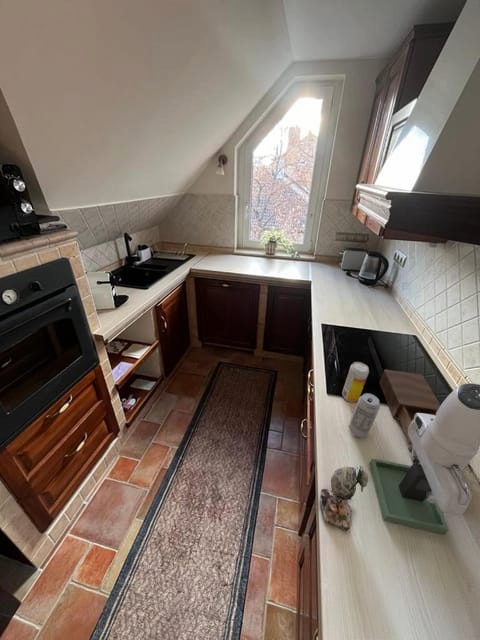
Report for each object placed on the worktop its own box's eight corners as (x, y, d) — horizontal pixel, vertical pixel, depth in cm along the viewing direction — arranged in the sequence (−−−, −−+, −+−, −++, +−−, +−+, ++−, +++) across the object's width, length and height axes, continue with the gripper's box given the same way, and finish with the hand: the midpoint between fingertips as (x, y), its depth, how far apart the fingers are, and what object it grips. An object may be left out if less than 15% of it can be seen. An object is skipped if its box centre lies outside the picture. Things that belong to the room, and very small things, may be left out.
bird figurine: (355, 492, 68) (377, 447, 58) (348, 537, 59) (373, 494, 49) (324, 476, 71) (340, 431, 61) (313, 517, 63) (330, 472, 52)
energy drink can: (371, 432, 84) (385, 400, 76) (361, 442, 80) (375, 410, 73) (354, 420, 88) (366, 388, 80) (344, 429, 84) (356, 398, 77)
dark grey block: (418, 489, 68) (435, 466, 63) (423, 502, 66) (441, 480, 60) (398, 485, 69) (413, 462, 63) (402, 498, 66) (418, 475, 61)
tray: (419, 472, 73) (422, 468, 71) (444, 534, 60) (448, 530, 59) (369, 463, 75) (371, 458, 73) (383, 520, 62) (386, 516, 61)
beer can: (362, 400, 95) (373, 370, 88) (349, 405, 93) (360, 374, 86) (350, 389, 100) (360, 359, 92) (338, 393, 98) (347, 363, 90)
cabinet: (435, 424, 87) (444, 410, 83) (392, 417, 89) (399, 403, 85) (415, 387, 102) (422, 374, 98) (379, 382, 104) (384, 369, 100)
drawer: (462, 474, 72) (471, 464, 69) (414, 465, 73) (422, 455, 71) (430, 415, 89) (436, 404, 86) (392, 408, 91) (397, 398, 88)
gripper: (491, 500, 47) (457, 531, 54) (440, 412, 65) (419, 444, 72) (454, 492, 48) (425, 524, 55) (413, 407, 66) (395, 440, 73)
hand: (421, 479), depth 64 cm, fingers open, 8 cm apart
